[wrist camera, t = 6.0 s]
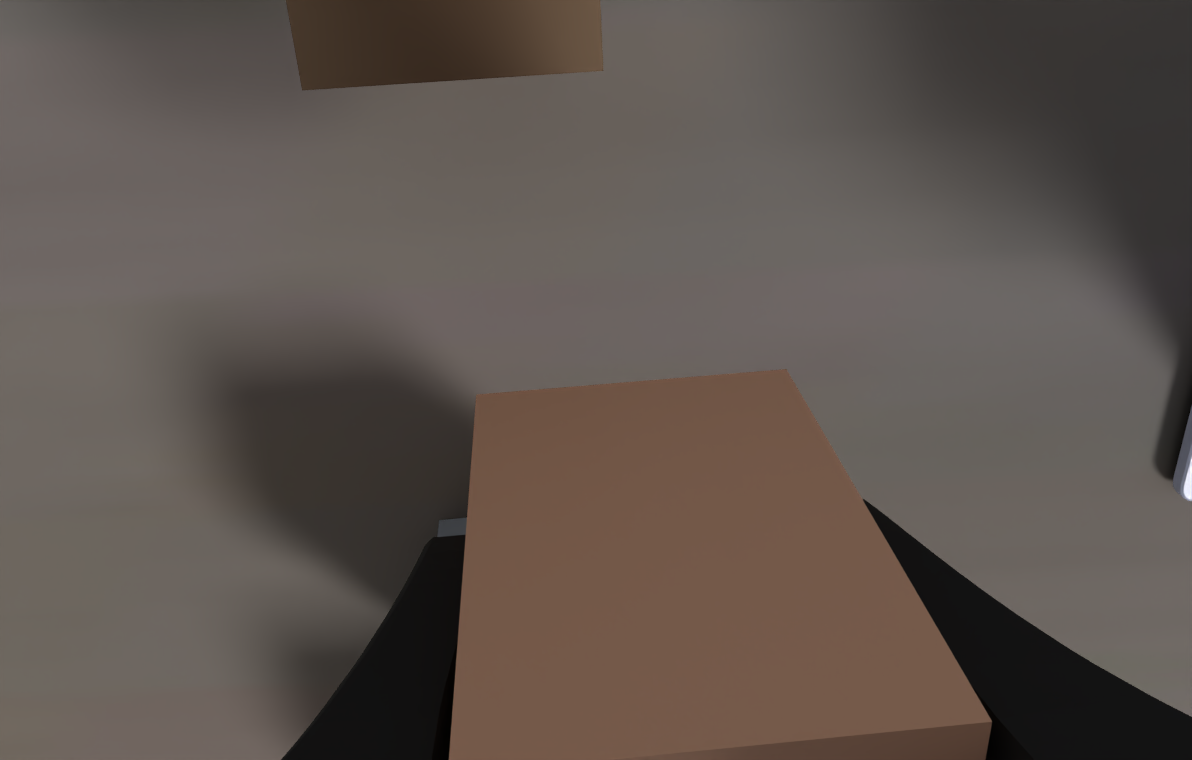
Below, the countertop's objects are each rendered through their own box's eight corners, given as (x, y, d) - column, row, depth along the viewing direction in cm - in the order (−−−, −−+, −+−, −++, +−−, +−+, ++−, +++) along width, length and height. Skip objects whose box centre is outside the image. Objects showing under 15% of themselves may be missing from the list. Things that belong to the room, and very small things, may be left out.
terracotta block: (786, 369, 12) (992, 721, 7) (776, 612, 14) (935, 1040, 9) (476, 394, 12) (447, 775, 7) (506, 637, 14) (501, 1090, 9)
